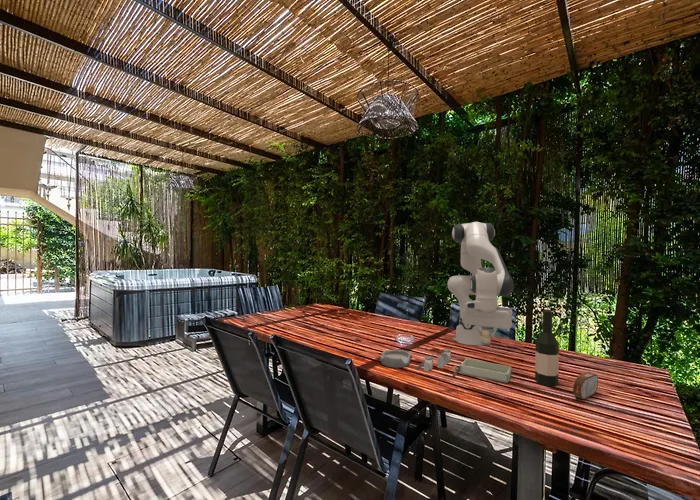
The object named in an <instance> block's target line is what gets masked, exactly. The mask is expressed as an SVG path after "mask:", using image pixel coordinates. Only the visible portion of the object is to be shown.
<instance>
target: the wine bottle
mask: <svg viewBox="0 0 700 500" xmlns="http://www.w3.org/2000/svg"><path fill="white" fill-rule="evenodd" d="M534 350H535V351H534V353H535V354H534V355H535V356H534V357H535V358H534V359H535V362H534V381H535V382H536V383H537V384H539V385H542V386H545V387H557V386H558V385H559V371H560V370H559V366H560V365H559V361H560V342H559V341H558V340H557V338H556V337H555V335H554V332H553V311H552V310H551V309H547V308H545V309H543V311H542V331H541V333H540V334H539V335H538V337H537V338H536V340H535V349H534Z"/></svg>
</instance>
